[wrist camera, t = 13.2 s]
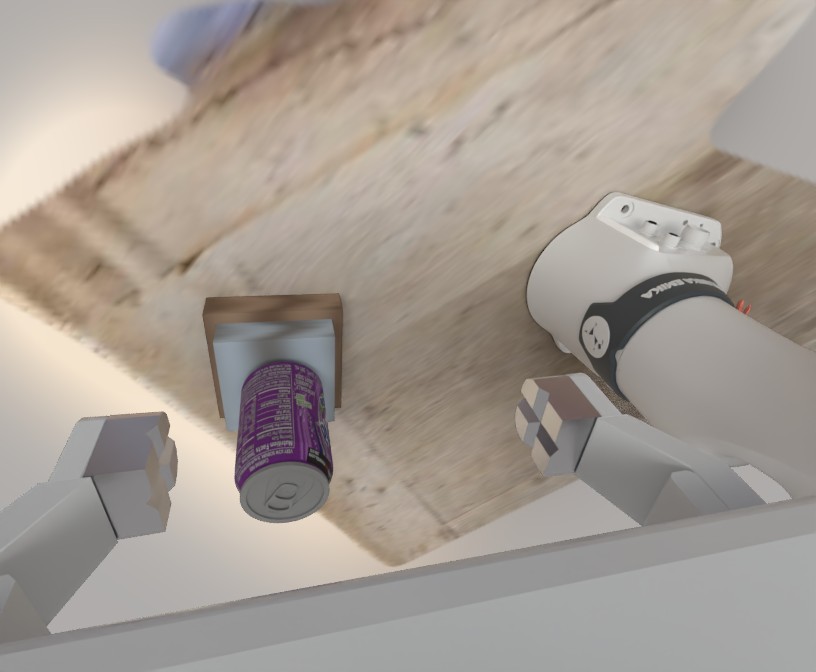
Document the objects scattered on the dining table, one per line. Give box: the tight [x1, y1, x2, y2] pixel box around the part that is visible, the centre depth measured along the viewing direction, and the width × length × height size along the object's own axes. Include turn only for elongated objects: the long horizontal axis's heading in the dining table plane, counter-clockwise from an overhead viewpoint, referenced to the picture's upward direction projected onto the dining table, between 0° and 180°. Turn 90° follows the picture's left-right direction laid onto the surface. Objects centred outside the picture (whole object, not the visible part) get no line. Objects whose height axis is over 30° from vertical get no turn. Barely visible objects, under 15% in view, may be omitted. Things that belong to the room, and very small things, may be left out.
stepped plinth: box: [202, 294, 343, 431], centre depth 45 cm, size 12×12×6 cm
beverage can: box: [235, 362, 333, 523], centre depth 38 cm, size 7×7×12 cm
